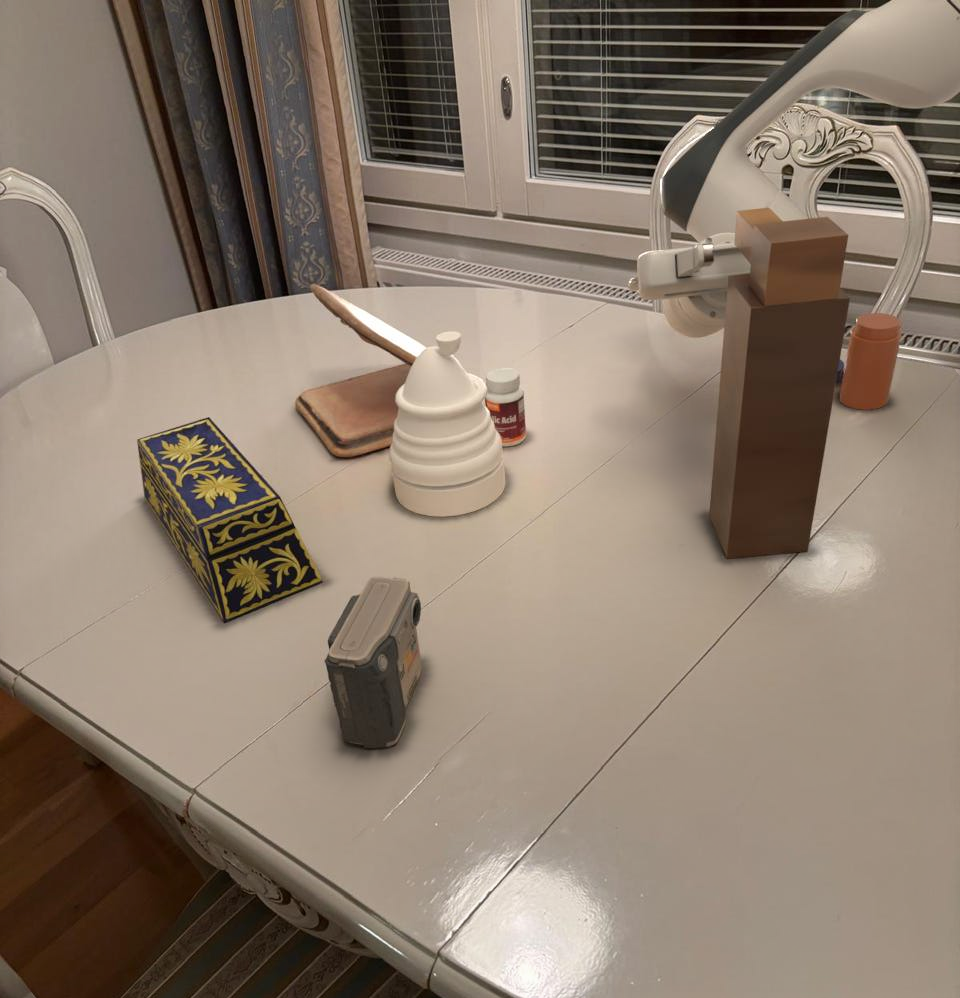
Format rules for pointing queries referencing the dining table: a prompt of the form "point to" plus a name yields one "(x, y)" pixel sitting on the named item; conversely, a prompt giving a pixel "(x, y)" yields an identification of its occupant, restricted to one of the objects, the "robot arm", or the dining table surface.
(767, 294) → the brown wooden block
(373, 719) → the camera
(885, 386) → the jar
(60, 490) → the dining table surface
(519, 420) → the pill bottle
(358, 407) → the case
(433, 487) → the honey pot
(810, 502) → the pedestal
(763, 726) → the dining table surface
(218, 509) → the decorative box
